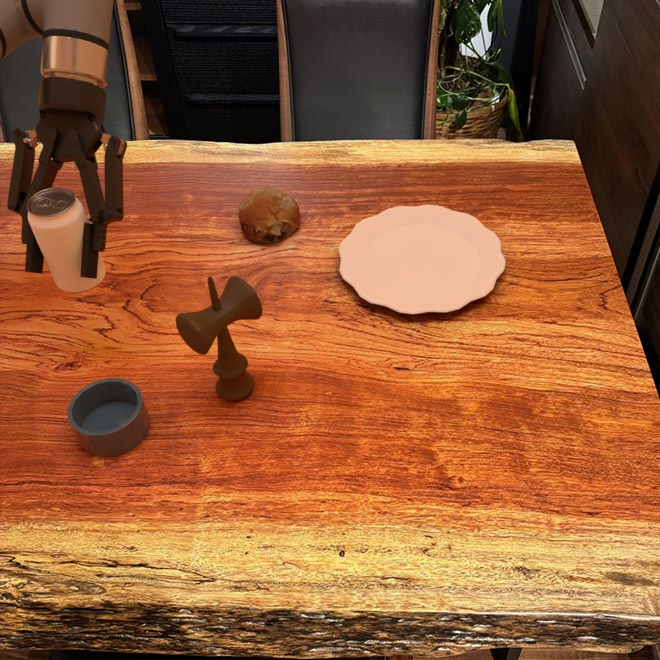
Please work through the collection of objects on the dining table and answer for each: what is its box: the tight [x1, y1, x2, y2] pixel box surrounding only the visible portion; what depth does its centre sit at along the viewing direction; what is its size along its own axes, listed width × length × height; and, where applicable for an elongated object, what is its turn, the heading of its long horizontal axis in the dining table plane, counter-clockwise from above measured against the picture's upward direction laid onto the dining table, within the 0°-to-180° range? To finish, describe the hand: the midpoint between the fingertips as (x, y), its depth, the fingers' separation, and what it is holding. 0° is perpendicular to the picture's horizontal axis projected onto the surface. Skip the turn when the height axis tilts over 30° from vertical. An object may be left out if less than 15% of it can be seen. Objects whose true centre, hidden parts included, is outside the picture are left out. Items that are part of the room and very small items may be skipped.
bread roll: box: [238, 186, 301, 244], centre depth 129 cm, size 10×10×8 cm
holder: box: [66, 377, 151, 458], centre depth 102 cm, size 9×9×4 cm
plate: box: [337, 204, 507, 316], centre depth 122 cm, size 25×25×2 cm
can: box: [27, 186, 107, 294], centre depth 99 cm, size 6×6×12 cm
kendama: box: [175, 275, 263, 402], centre depth 100 cm, size 6×10×20 cm, turn 138°
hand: (61, 274), depth 98 cm, fingers closed on can, 6 cm apart
